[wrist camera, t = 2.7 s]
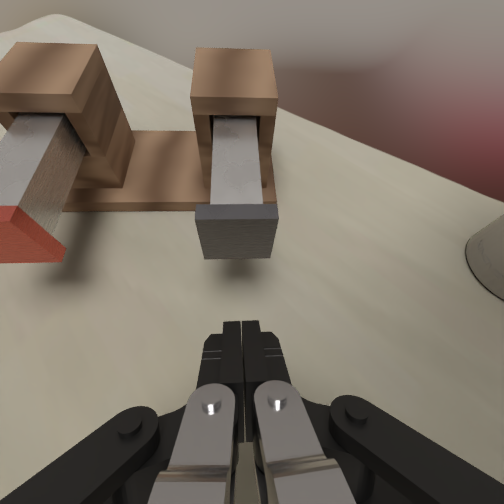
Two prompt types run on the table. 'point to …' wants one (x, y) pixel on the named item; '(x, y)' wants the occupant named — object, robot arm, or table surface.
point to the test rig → (141, 142)
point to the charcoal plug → (236, 195)
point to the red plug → (36, 184)
